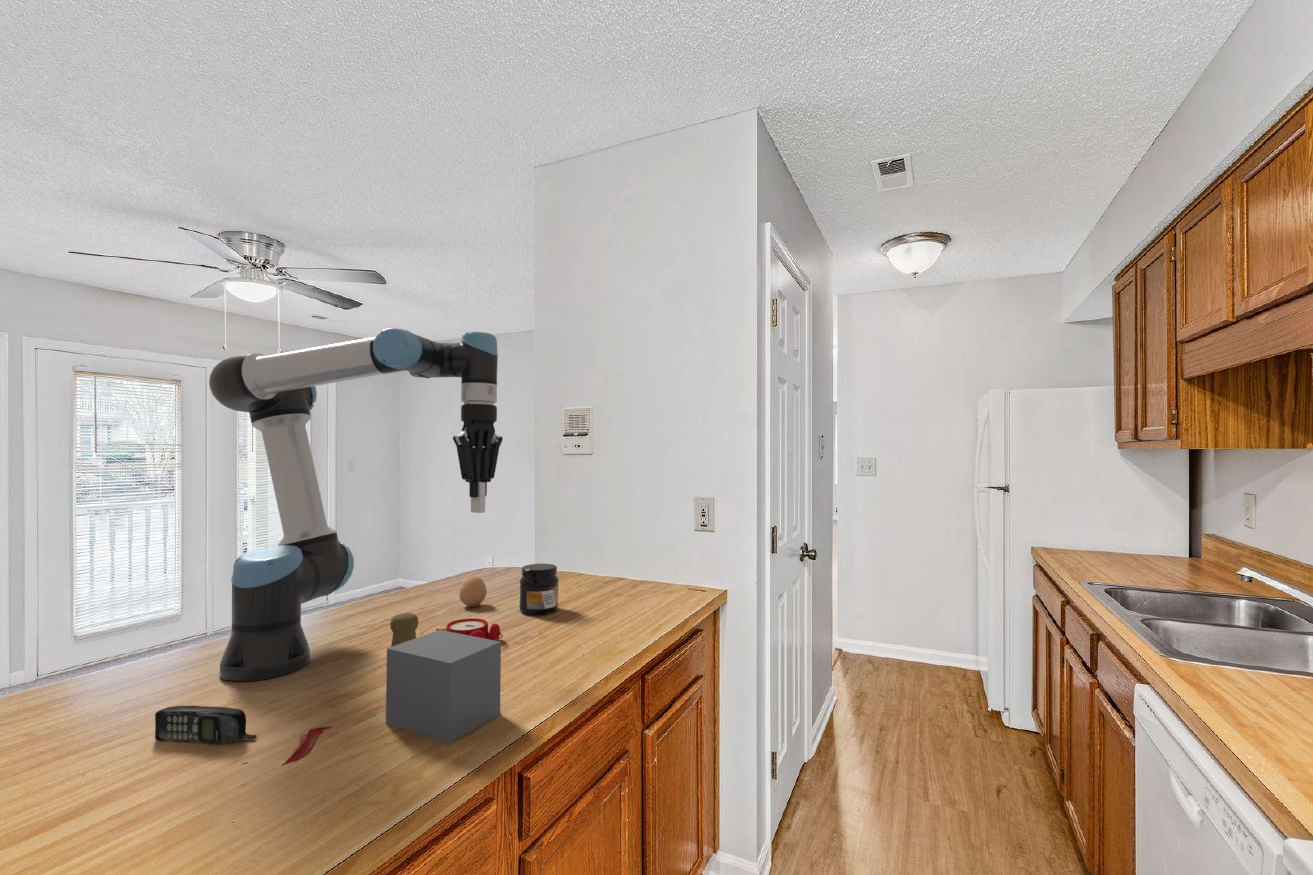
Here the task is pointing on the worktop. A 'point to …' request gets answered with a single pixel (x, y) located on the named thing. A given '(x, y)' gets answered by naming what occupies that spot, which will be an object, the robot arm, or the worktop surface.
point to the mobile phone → (201, 724)
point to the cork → (403, 628)
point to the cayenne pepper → (305, 744)
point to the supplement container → (539, 589)
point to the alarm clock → (474, 628)
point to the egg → (472, 591)
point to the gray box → (443, 684)
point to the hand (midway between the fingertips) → (477, 512)
